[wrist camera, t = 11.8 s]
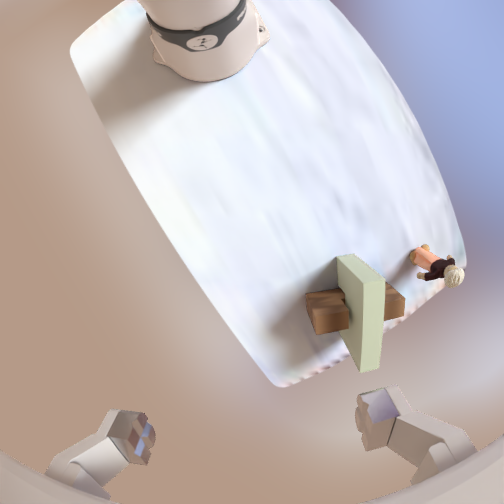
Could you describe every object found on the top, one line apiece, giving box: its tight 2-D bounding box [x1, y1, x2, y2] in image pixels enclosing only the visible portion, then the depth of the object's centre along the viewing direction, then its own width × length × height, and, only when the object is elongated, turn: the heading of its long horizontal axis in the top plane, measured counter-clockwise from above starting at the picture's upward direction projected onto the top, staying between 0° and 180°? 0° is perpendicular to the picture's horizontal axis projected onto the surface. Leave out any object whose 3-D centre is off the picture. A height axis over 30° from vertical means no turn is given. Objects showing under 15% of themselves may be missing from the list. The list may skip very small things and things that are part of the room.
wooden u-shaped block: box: [306, 281, 405, 335], centre depth 40 cm, size 14×3×8 cm, turn 99°
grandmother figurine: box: [410, 244, 464, 288], centre depth 36 cm, size 8×4×13 cm, turn 125°
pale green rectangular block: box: [336, 254, 385, 373], centre depth 38 cm, size 14×3×12 cm, turn 9°
